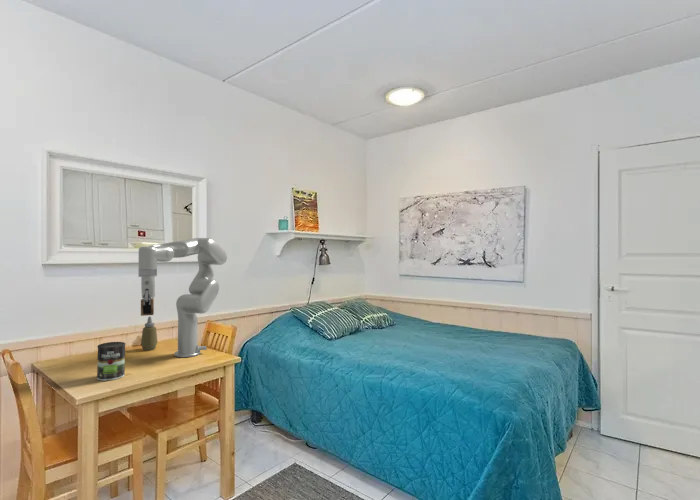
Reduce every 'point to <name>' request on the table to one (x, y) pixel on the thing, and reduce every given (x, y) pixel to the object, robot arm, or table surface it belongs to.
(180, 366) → the table surface
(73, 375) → the table surface
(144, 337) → the squeeze bottle
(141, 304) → the walnut block
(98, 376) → the coffee can
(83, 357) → the table surface
